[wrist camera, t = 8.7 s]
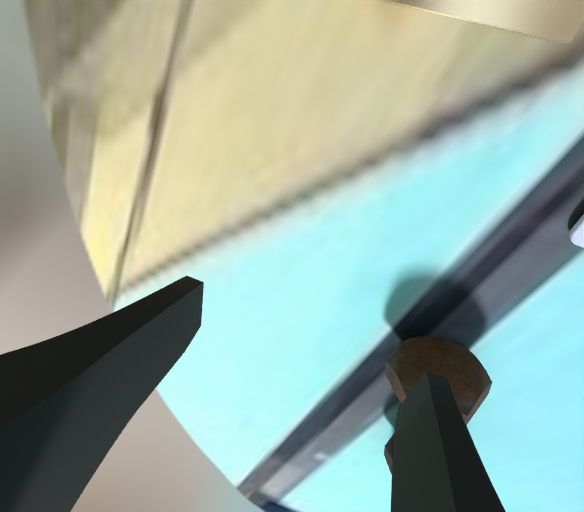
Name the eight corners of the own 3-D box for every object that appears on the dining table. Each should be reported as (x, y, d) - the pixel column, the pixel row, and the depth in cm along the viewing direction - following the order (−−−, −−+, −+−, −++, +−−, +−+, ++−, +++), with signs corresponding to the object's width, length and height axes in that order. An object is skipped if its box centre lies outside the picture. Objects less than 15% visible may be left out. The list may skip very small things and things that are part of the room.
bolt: (405, 440, 31) (424, 320, 23) (460, 484, 28) (505, 362, 20) (365, 489, 28) (371, 371, 20) (421, 545, 25) (455, 431, 17)
